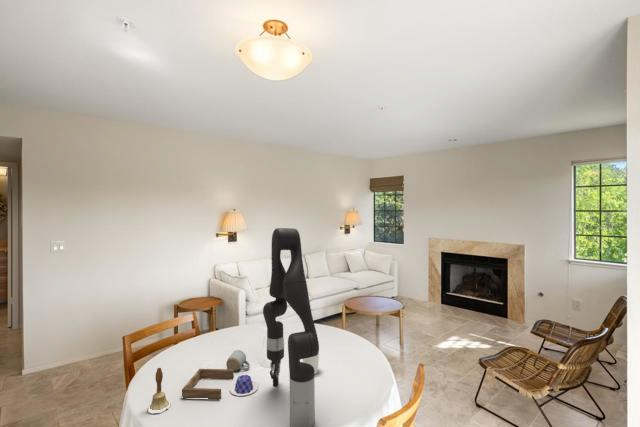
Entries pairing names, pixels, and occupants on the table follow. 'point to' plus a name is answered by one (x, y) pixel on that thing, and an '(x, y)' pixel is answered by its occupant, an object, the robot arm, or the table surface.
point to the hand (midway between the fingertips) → (275, 385)
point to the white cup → (312, 362)
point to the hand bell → (159, 394)
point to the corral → (205, 392)
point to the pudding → (243, 386)
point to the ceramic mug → (237, 361)
